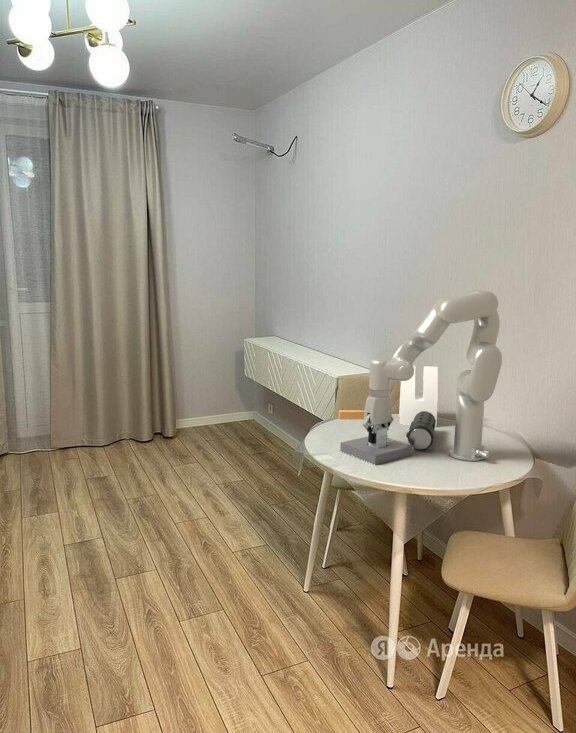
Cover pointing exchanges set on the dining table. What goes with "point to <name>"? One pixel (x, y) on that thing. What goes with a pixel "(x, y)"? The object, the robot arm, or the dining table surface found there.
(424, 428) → the muzzle brake
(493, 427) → the dining table surface
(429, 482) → the dining table surface
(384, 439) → the plug
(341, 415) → the try square
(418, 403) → the white u-shaped block
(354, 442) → the socket block
